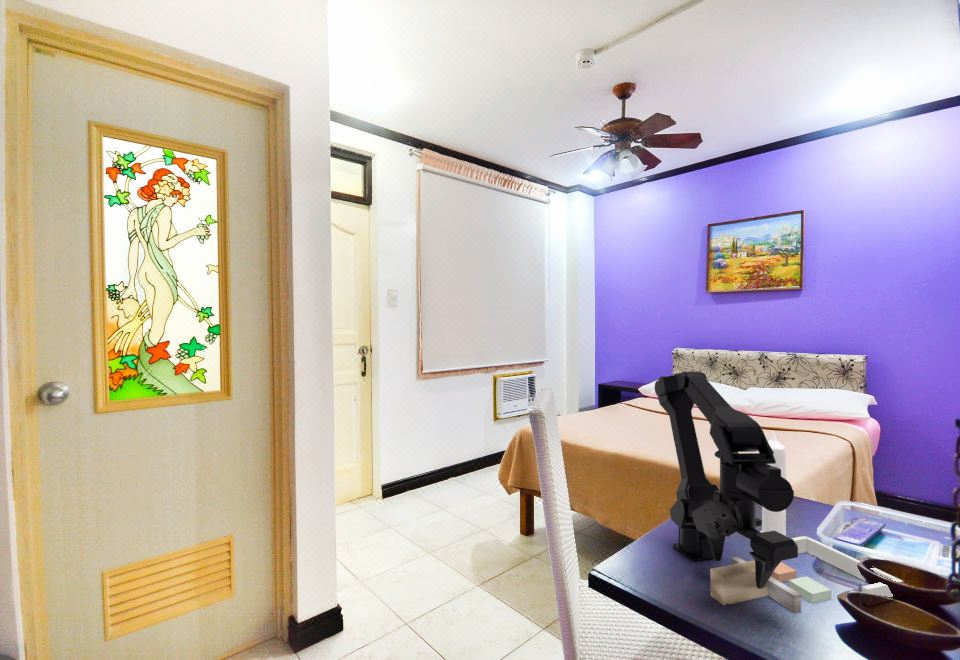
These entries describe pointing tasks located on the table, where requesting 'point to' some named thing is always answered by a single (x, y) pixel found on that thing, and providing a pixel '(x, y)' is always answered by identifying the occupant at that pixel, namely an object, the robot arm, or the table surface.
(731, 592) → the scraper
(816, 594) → the tile sage
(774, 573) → the tile terracotta
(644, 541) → the table surface
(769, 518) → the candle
